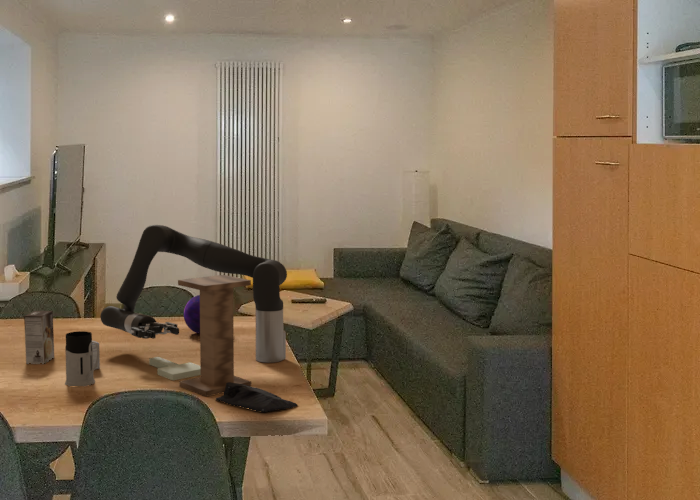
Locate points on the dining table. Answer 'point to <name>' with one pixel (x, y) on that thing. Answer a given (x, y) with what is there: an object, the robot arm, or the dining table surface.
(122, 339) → the dining table surface
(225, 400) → the black folded cloth
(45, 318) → the coffee box
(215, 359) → the walnut stand
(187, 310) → the decorative orb
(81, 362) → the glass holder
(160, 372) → the paddle board
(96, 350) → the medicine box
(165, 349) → the dining table surface
